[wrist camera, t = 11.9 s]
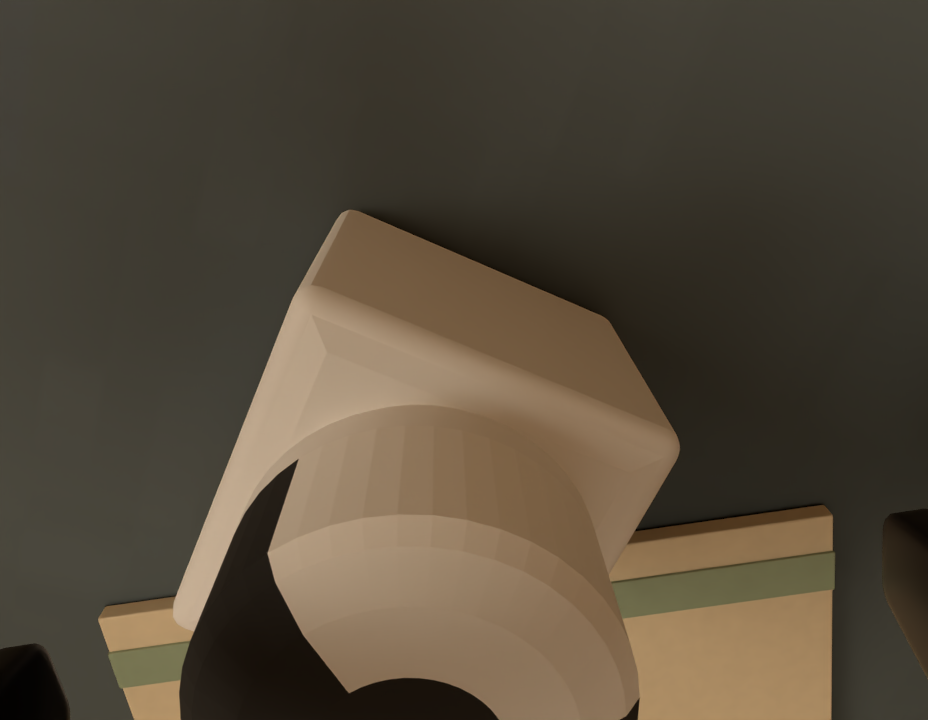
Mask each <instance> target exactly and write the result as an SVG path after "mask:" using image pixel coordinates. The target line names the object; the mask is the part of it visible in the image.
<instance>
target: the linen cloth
mask: <svg viewBox="0 0 928 720" xmlns="http://www.w3.org/2000/svg"><path fill="white" fill-rule="evenodd" d="M609 578H610V581H611V584H612V587H613V590H614V594H615V597H616V600H617V603H618V606H619V610H620V613H621V616H622V619H623V622H624V626H625V629H626V632H627V635H628V638H629V641H630V645H631V648H632V652H633V656H634V659H635V663H636V667H637V671H638V681H639V693H640V701H639V711H638V720H831V700H832V590H833V589H835V552H834V551H833V515H832V514H831V513H830V511H829V510H828V509H827V508H826V507H825V505H818V506H811V507H804V508H797V509H790V510H783V511H776V512H769V513H762V514H755V515H748V516H741V517H733V518H726V519H719V520H712V521H705V522H698V523H691V524H684V525H677V526H670V527H663V528H656V529H649V530H642V531H635V532H634V533H633V535H632V536H631V538H630V540H629V541H628V543H627V545H626V547H625V548H624V550H623V552H622V553H621V555H620V557H619V558H618V560H617V562H616V564H615V565H614V567H613V569H612V570H611V572H610V574H609ZM174 600H175V597H169V598H161V599H154V600H147V601H140V602H133V603H126V604H119V605H112V606H106V607H105V608H104V610H103V612H102V613H101V615H100V617H99V618H98V621H99V624H100V626H101V629H102V632H103V635H104V637H105V640H106V643H107V646H108V649H109V651H110V652H109V653H108V657H109V659H110V662H111V665H112V668H113V670H114V673H115V676H116V679H117V681H118V684H119V687H120V689H121V688H123V690H124V693H125V695H126V698H127V701H128V704H129V706H130V709H131V712H132V715H133V717H134V720H181V718H180V700H179V689H180V681H181V673H182V666H183V663H184V659H185V656H186V653H187V650H188V646H189V643H190V640H191V638H192V635H193V633H194V631H191V630H188V629H185V628H183V627H181V626H180V625H178V624H177V623H176V621H175V620H174V618H173V604H174Z"/></svg>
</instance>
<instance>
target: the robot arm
mask: <svg viewBox="0 0 928 720" xmlns="http://www.w3.org/2000/svg"><path fill="white" fill-rule="evenodd" d="M882 583H883V590H884V593H885V597H886V600H887V602H888V604H889V606H890V608H891V610H892V612H893V614H894V616H895V618H896V620H897V622H898V623H899V625H900V627H901V629H902V631H903V633H904V635H905V637H906V639H907V641H908V642H909V644H910V646H911V648H912V650H913V652H914V654H915V656H916V658H917V659H918V661H919V663H920V665H921V667H922V669H923V671H924V673H925V675H926V677H927V678H928V509H918V510H912V511H905V512H899V513H893V514H890V515H889V516H888V517H887V518H886V519H885V522H884V526H883V561H882ZM0 720H70V708H69V703H68V699H67V697H66V694H65V692H64V690H63V687H62V685H61V682H60V680H59V677H58V675H57V673H56V670H55V668H54V665H53V663H52V660H51V658H50V655H49V654H48V652H47V650H46V649H45V648H44V647H43V646H41V645H39V644H28V645H21V646H15V647H8V648H3V649H0Z"/></svg>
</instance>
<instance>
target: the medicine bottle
mask: <svg viewBox="0 0 928 720" xmlns="http://www.w3.org/2000/svg"><path fill="white" fill-rule="evenodd" d="M679 451H680V444H679V441H678V437H677V435H676V433H675V431H674V430H673V428H672V426H671V425H670V423H669V421H668V420H667V418H666V416H665V415H664V413H663V411H662V410H661V408H660V406H659V405H658V403H657V401H656V399H655V398H654V396H653V394H652V393H651V391H650V389H649V388H648V386H647V384H646V383H645V381H644V379H643V378H642V376H641V374H640V372H639V371H638V369H637V367H636V366H635V364H634V362H633V361H632V359H631V357H630V356H629V354H628V352H627V351H626V349H625V347H624V345H623V344H622V342H621V340H620V339H619V337H618V335H617V334H616V332H615V330H614V329H613V327H612V325H611V324H610V322H609V321H608V320H607V319H606V318H605V317H603V316H601V315H599V314H596V313H594V312H592V311H589V310H587V309H585V308H582V307H580V306H578V305H575V304H573V303H571V302H568V301H566V300H564V299H561V298H559V297H557V296H554V295H552V294H550V293H547V292H545V291H543V290H541V289H538V288H536V287H534V286H531V285H529V284H527V283H524V282H522V281H520V280H517V279H515V278H513V277H510V276H508V275H506V274H503V273H501V272H499V271H496V270H494V269H492V268H489V267H487V266H485V265H482V264H480V263H478V262H475V261H473V260H471V259H468V258H466V257H464V256H461V255H459V254H457V253H455V252H452V251H450V250H448V249H445V248H443V247H441V246H438V245H436V244H434V243H431V242H429V241H427V240H424V239H422V238H420V237H417V236H415V235H413V234H410V233H408V232H406V231H403V230H401V229H399V228H396V227H394V226H392V225H389V224H387V223H385V222H382V221H380V220H378V219H375V218H373V217H371V216H369V215H366V214H364V213H362V212H359V211H355V210H347V211H345V212H342V213H341V214H340V216H339V217H338V218H337V220H336V222H335V223H334V225H333V227H332V229H331V231H330V232H329V234H328V236H327V238H326V240H325V241H324V243H323V245H322V247H321V249H320V250H319V252H318V254H317V256H316V258H315V259H314V261H313V263H312V265H311V266H310V268H309V270H308V272H307V274H306V275H305V277H304V279H303V281H302V283H301V284H300V286H299V288H298V290H297V292H296V293H295V295H294V297H293V299H292V302H291V304H290V307H289V309H288V312H287V314H286V317H285V319H284V322H283V324H282V327H281V330H280V332H279V335H278V337H277V340H276V342H275V345H274V347H273V350H272V353H271V355H270V358H269V360H268V363H267V365H266V368H265V370H264V373H263V375H262V378H261V381H260V383H259V386H258V388H257V391H256V393H255V396H254V398H253V401H252V404H251V406H250V409H249V411H248V414H247V416H246V419H245V421H244V424H243V427H242V429H241V432H240V434H239V437H238V439H237V442H236V444H235V447H234V449H233V452H232V455H231V457H230V460H229V462H228V465H227V467H226V470H225V472H224V475H223V478H222V480H221V483H220V485H219V488H218V490H217V493H216V495H215V498H214V500H213V503H212V506H211V508H210V511H209V513H208V516H207V518H206V521H205V523H204V526H203V529H202V531H201V534H200V536H199V539H198V541H197V544H196V546H195V549H194V552H193V554H192V557H191V559H190V562H189V564H188V567H187V569H186V572H185V574H184V577H183V580H182V582H181V585H180V587H179V590H178V592H177V595H176V597H175V600H174V604H173V618H174V620H175V621H176V623H177V624H178V625H180V626H181V627H183V628H185V629H188V630H191V631H194V633H193V635H192V638H191V640H190V643H189V646H188V650H187V653H186V656H185V659H184V663H183V666H182V673H181V681H180V689H179V700H180V718H181V720H638V711H639V701H640V693H639V681H638V671H637V667H636V663H635V659H634V656H633V652H632V648H631V645H630V641H629V638H628V635H627V632H626V629H625V626H624V622H623V619H622V616H621V613H620V610H619V606H618V603H617V600H616V597H615V594H614V590H613V587H612V584H611V581H610V578H609V574H610V572H611V570H612V569H613V567H614V565H615V564H616V562H617V560H618V558H619V557H620V555H621V553H622V552H623V550H624V548H625V547H626V545H627V543H628V541H629V540H630V538H631V536H632V535H633V533H634V531H635V530H636V528H637V526H638V525H639V523H640V521H641V519H642V518H643V516H644V514H645V513H646V511H647V509H648V508H649V506H650V504H651V503H652V501H653V499H654V497H655V496H656V494H657V492H658V491H659V489H660V487H661V486H662V484H663V482H664V480H665V479H666V477H667V475H668V474H669V472H670V470H671V469H672V467H673V465H674V464H675V462H676V460H677V458H678V455H679Z"/></svg>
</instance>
